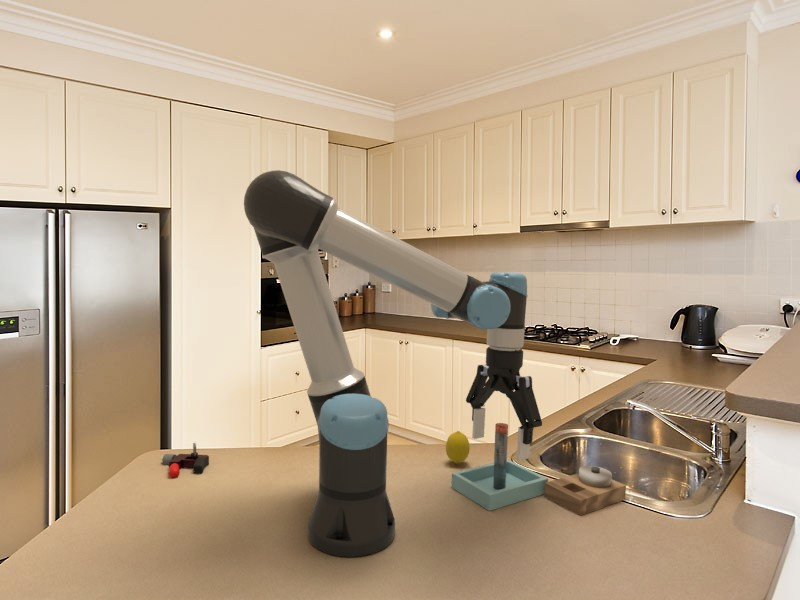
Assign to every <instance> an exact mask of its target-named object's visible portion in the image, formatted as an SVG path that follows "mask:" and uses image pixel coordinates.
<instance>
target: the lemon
mask: <svg viewBox="0 0 800 600" xmlns="http://www.w3.org/2000/svg"><path fill="white" fill-rule="evenodd" d="M445 452H446V456H447V458H449V460H451V462H454V463H455V465H459V464H460V463H462V462H465V460H466V459H467V458H468V457H469V454H470V441H469V439H468V437H467V435H466V434H465V433H463V432H461V431H460V430H456V431H455V432H452V433H451V434H450V435H449V436H448V437H447V439H446V444H445Z"/></svg>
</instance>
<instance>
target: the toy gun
mask: <svg viewBox="0 0 800 600" xmlns="http://www.w3.org/2000/svg"><path fill="white" fill-rule="evenodd" d="M192 448H193V449H192V452H191V453H178V454H176V453H164V455H163V457H162V458H160V460H161V461H162V465H165V466H168V475H169V477H170V478H172V479H175V478H177V477H179V475H180V470H181V469H189V470H190V469H191V470H193V471H192V472H193V474H197V475H202V474H203V473H204V471H205V468H207V467H209V466H210V456H209V455H208V454H199V453H198V452H197V444H196V442H193V443H192Z"/></svg>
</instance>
